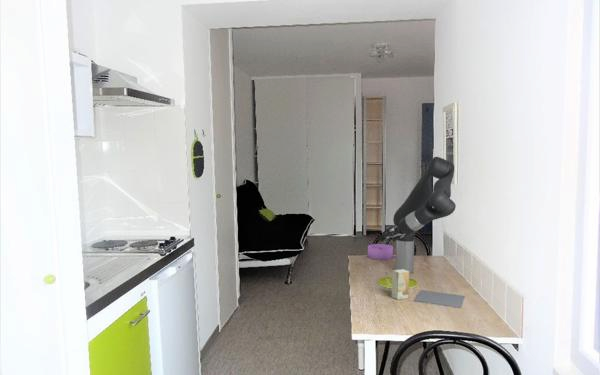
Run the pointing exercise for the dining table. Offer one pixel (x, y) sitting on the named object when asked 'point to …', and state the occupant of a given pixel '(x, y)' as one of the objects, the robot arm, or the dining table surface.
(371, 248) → the purple basket
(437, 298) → the mat
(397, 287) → the skincare box
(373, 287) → the dining table surface
